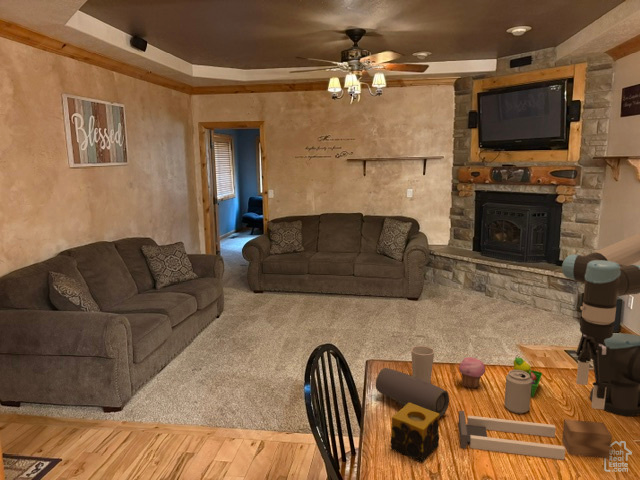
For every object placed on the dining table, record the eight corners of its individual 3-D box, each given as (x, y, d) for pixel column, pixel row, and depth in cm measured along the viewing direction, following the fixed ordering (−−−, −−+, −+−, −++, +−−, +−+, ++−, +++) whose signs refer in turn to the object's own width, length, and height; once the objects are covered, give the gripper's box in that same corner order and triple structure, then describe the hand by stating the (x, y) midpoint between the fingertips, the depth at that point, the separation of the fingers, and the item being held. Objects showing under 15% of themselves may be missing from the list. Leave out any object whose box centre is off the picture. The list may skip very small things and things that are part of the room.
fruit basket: (536, 400, 159) (539, 368, 157) (508, 393, 163) (510, 362, 161) (541, 386, 168) (544, 355, 166) (514, 380, 173) (516, 350, 171)
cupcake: (460, 377, 175) (462, 351, 173) (485, 382, 171) (487, 356, 169) (455, 388, 167) (457, 361, 165) (481, 393, 163) (483, 366, 161)
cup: (406, 378, 174) (407, 347, 172) (425, 375, 176) (426, 344, 174) (417, 388, 167) (418, 356, 164) (437, 385, 169) (438, 353, 167)
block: (600, 445, 134) (603, 422, 133) (609, 458, 128) (611, 435, 127) (562, 441, 136) (564, 419, 135) (568, 454, 130) (570, 431, 129)
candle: (407, 433, 140) (408, 401, 139) (439, 445, 134) (441, 413, 132) (389, 449, 133) (390, 416, 131) (422, 463, 126) (423, 429, 125)
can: (531, 415, 149) (534, 379, 147) (506, 413, 150) (508, 377, 148) (526, 403, 156) (529, 369, 154) (502, 401, 158) (504, 367, 156)
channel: (553, 434, 139) (554, 424, 139) (564, 459, 128) (565, 449, 127) (467, 424, 144) (467, 415, 144) (470, 448, 133) (470, 438, 132)
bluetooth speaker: (449, 414, 150) (451, 384, 148) (433, 426, 144) (434, 395, 142) (391, 389, 166) (391, 362, 164) (374, 399, 160) (374, 371, 158)
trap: (484, 425, 144) (485, 413, 143) (489, 451, 131) (490, 438, 131) (458, 422, 145) (459, 410, 145) (460, 447, 133) (461, 434, 132)
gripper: (568, 304, 138) (562, 373, 142) (597, 335, 114) (588, 418, 118) (597, 306, 136) (590, 376, 140) (632, 338, 112) (622, 421, 116)
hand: (589, 395), depth 129 cm, fingers open, 13 cm apart
